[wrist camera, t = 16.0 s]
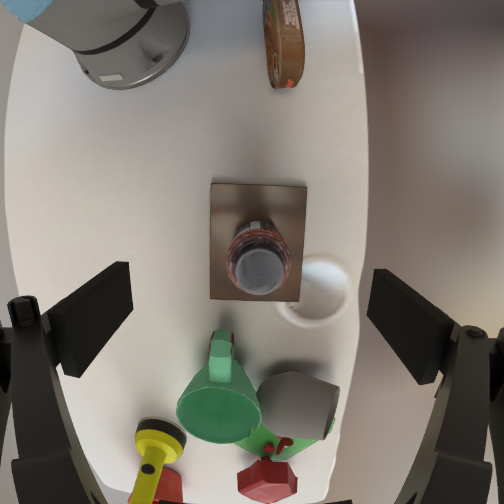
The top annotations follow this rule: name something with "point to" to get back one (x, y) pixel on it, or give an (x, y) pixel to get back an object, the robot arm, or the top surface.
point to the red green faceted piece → (270, 465)
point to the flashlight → (155, 454)
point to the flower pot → (168, 487)
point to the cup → (297, 405)
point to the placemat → (256, 209)
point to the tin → (283, 42)
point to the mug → (220, 397)
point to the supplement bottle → (258, 258)
